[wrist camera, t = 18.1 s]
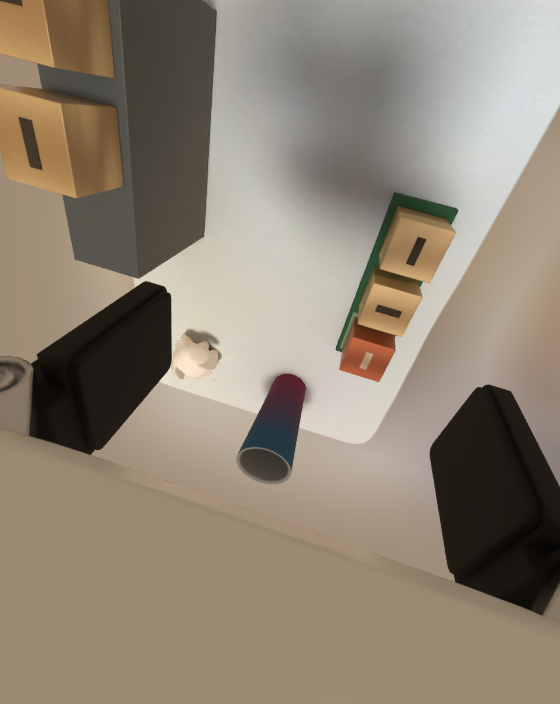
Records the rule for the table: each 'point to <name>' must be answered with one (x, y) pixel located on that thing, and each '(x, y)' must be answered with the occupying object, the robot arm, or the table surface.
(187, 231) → the near dark gray stand
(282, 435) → the cup
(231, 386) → the table surface
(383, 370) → the slotted orange cube
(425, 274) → the green tile rack
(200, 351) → the elephant figurine
